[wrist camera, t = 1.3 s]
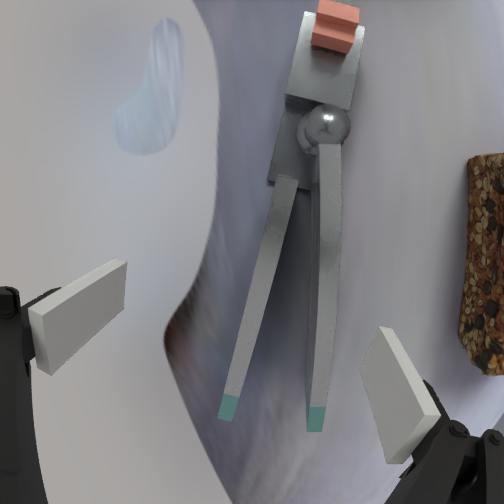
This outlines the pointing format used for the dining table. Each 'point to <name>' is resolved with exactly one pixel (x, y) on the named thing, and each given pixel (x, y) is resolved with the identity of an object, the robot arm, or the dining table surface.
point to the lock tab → (335, 26)
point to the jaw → (324, 254)
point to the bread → (484, 266)
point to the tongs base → (290, 177)
